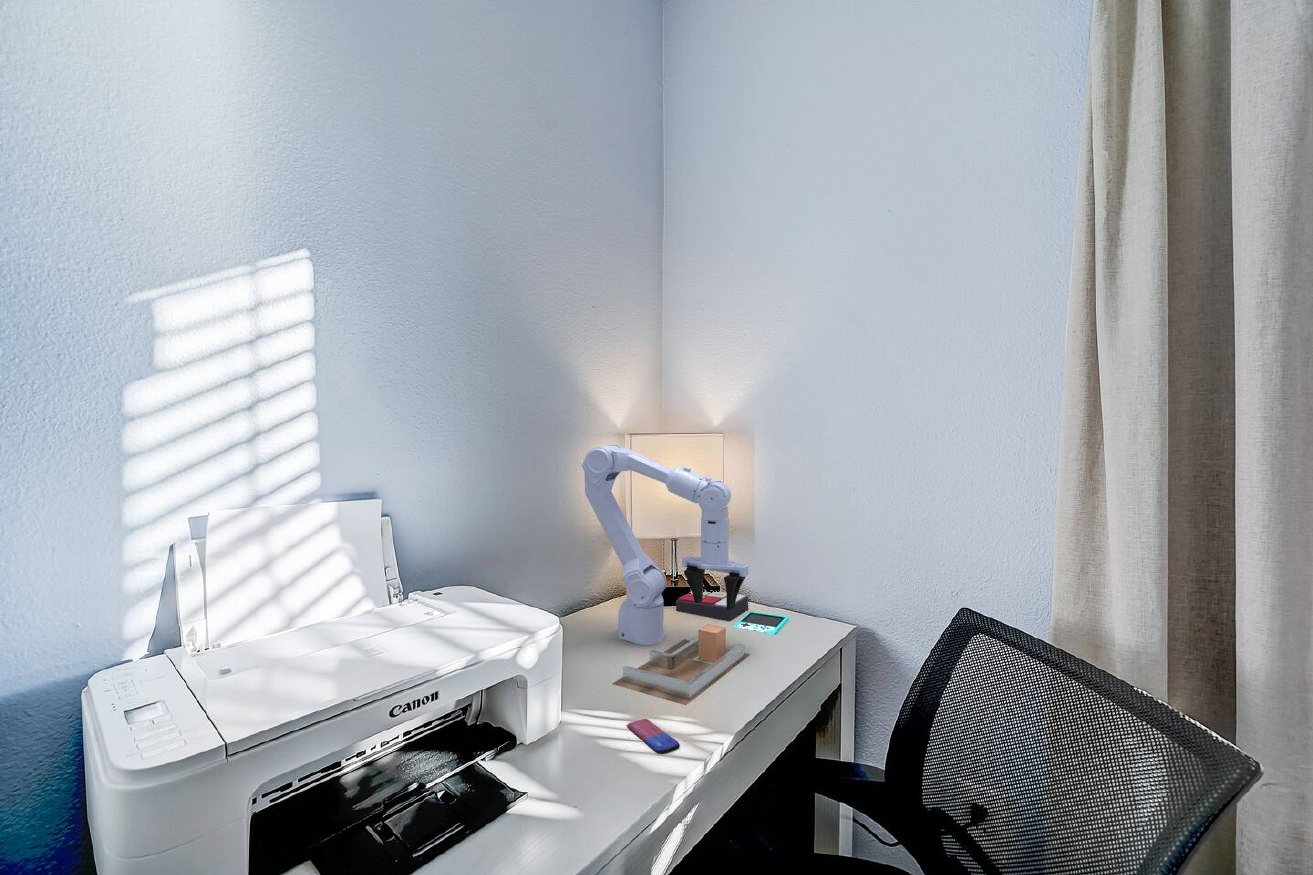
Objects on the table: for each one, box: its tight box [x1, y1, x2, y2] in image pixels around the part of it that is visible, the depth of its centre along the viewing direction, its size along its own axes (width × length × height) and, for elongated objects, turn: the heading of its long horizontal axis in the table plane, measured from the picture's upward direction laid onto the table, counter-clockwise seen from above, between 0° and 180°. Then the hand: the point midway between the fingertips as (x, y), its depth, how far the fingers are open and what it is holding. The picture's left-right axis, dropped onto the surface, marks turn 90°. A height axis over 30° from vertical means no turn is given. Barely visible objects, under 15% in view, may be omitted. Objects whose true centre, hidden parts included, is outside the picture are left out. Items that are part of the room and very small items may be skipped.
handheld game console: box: [732, 611, 790, 636], centre depth 148 cm, size 10×16×1 cm, turn 153°
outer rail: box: [622, 643, 745, 700], centre depth 121 cm, size 14×22×2 cm, turn 147°
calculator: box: [675, 590, 749, 622], centre depth 160 cm, size 11×4×15 cm
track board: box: [611, 638, 752, 706], centre depth 122 cm, size 16×26×1 cm, turn 147°
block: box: [697, 623, 727, 663], centre depth 126 cm, size 4×4×6 cm
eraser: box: [626, 718, 681, 755], centre depth 97 cm, size 11×4×2 cm, turn 32°
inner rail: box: [649, 636, 698, 670], centre depth 128 cm, size 5×13×2 cm, turn 147°
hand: (714, 605), depth 132 cm, fingers open, 7 cm apart
